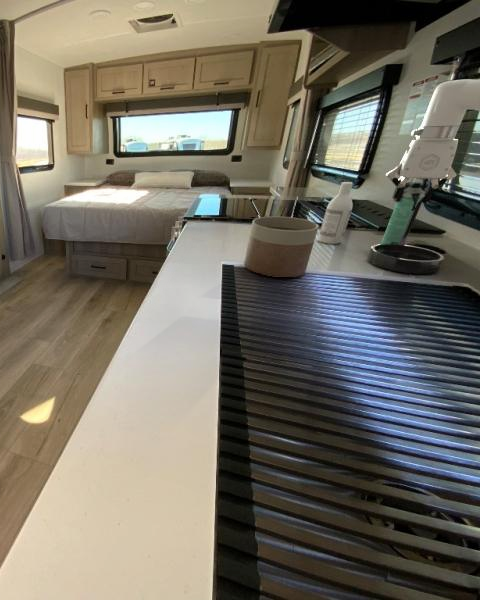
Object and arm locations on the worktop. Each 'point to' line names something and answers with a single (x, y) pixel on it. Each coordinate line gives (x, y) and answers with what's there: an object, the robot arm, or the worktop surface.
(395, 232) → the spray can
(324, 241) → the bath foam
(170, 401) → the worktop surface
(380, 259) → the pan
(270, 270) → the planter
